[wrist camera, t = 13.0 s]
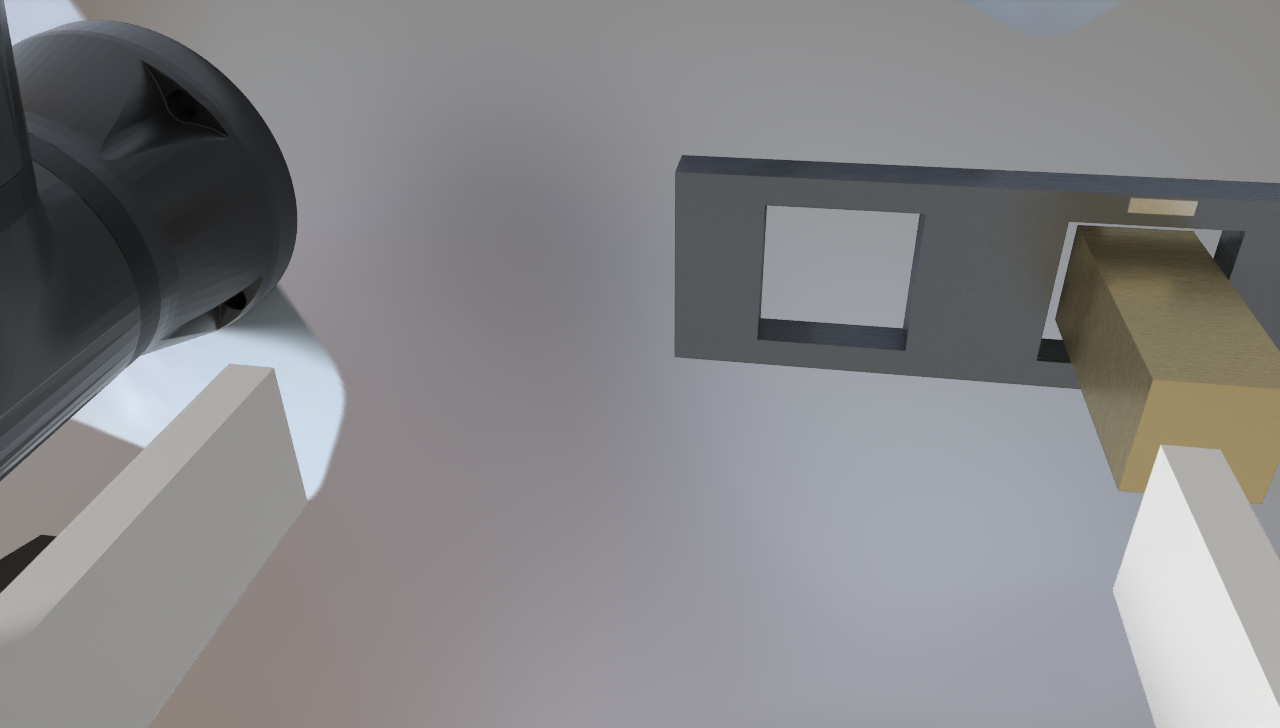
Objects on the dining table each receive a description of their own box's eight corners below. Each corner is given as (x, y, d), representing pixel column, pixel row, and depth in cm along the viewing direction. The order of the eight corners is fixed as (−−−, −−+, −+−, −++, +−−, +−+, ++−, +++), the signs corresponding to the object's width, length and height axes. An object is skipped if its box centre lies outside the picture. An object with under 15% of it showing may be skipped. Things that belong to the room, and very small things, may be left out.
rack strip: (680, 335, 47) (674, 358, 45) (682, 155, 42) (675, 173, 41) (1267, 379, 43) (1285, 406, 41) (1342, 186, 38) (1365, 207, 37)
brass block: (1055, 319, 43) (1118, 490, 33) (1077, 225, 41) (1153, 379, 31) (1163, 326, 43) (1261, 504, 33) (1193, 231, 40) (1308, 391, 30)
